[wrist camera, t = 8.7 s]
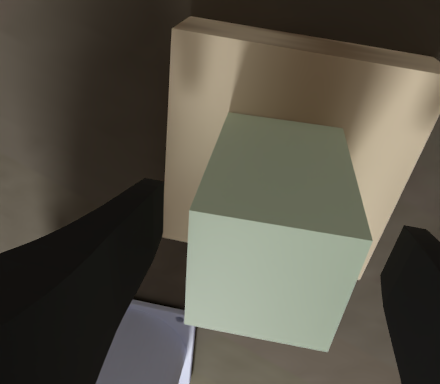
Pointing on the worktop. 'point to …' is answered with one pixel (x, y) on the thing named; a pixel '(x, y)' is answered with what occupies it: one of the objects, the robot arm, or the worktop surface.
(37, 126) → the worktop surface
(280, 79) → the birch block
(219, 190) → the green block
